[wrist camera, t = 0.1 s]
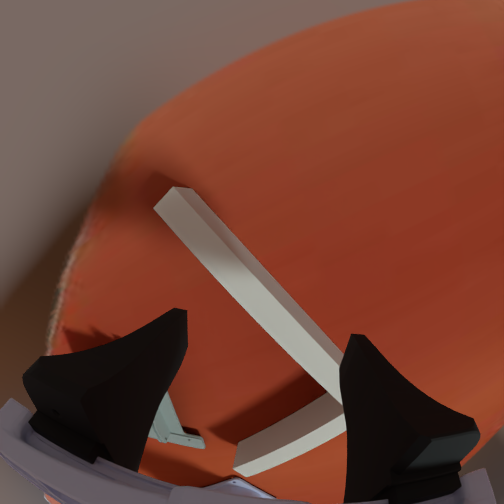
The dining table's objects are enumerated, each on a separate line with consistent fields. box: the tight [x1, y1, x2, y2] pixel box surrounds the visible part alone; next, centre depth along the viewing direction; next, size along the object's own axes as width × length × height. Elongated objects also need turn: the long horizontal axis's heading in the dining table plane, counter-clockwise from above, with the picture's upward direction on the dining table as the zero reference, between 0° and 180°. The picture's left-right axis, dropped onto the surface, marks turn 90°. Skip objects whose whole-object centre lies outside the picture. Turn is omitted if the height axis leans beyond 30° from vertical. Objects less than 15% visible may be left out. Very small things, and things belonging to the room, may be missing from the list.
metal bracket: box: [148, 391, 205, 449], centre depth 26 cm, size 14×6×15 cm
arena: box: [153, 187, 346, 477], centre depth 22 cm, size 15×23×4 cm, turn 43°
